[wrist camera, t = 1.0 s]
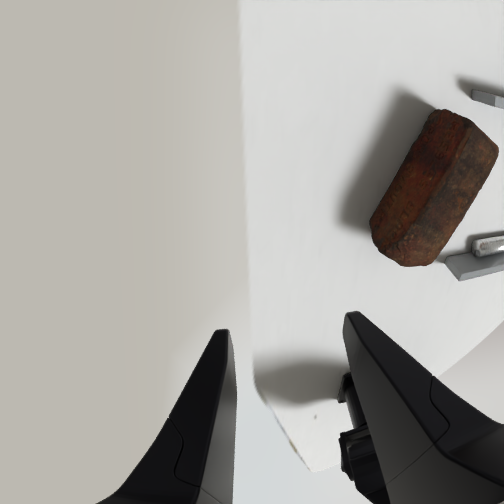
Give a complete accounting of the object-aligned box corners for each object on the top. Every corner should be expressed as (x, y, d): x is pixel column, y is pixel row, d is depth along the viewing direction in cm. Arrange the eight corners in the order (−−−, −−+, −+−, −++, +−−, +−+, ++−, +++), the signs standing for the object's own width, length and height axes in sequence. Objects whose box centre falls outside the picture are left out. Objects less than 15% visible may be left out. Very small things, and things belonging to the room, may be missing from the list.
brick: (429, 102, 17) (471, 117, 13) (462, 131, 18) (503, 151, 14) (361, 227, 22) (386, 264, 18) (398, 243, 23) (425, 279, 19)
